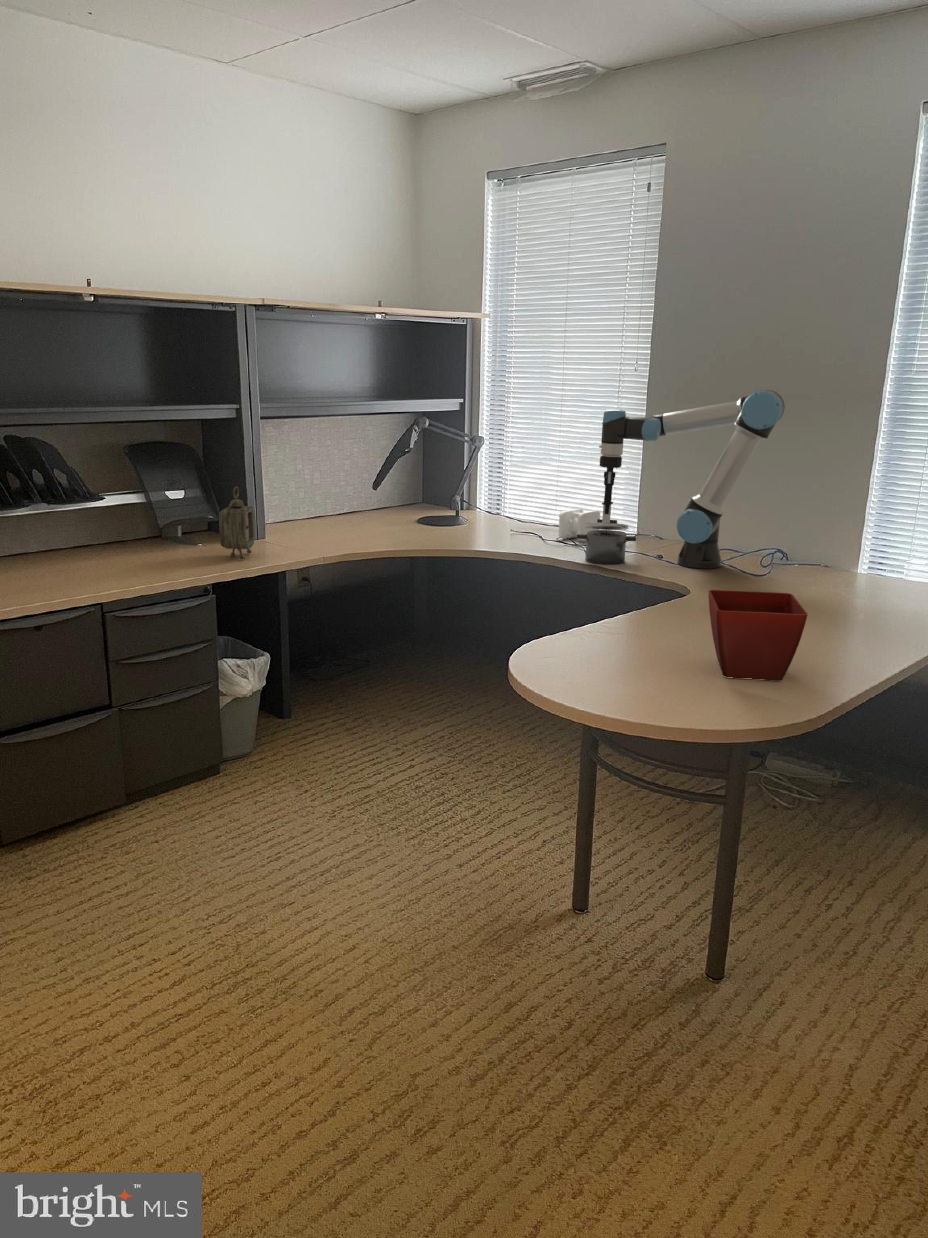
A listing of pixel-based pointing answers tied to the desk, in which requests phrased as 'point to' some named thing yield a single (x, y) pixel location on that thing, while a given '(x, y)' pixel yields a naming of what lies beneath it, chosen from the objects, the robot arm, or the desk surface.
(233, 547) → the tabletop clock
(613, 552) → the pot
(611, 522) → the lid
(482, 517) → the desk surface
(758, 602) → the plant pot
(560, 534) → the cable organizer
